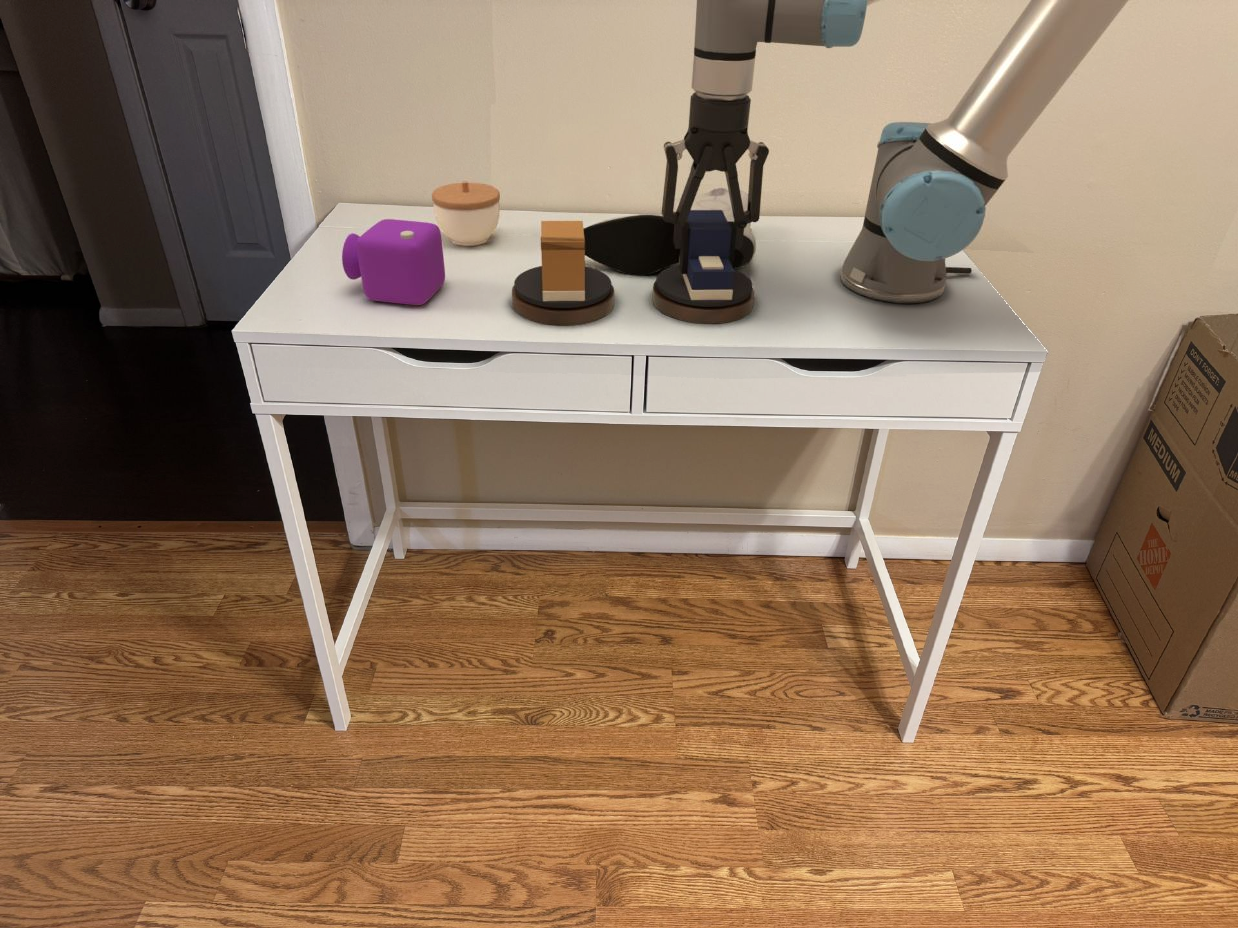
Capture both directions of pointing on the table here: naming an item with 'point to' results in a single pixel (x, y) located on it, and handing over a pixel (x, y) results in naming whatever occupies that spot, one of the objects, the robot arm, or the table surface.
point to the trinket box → (467, 212)
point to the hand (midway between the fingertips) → (705, 269)
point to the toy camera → (396, 261)
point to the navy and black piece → (706, 266)
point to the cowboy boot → (656, 238)
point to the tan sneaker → (562, 270)
